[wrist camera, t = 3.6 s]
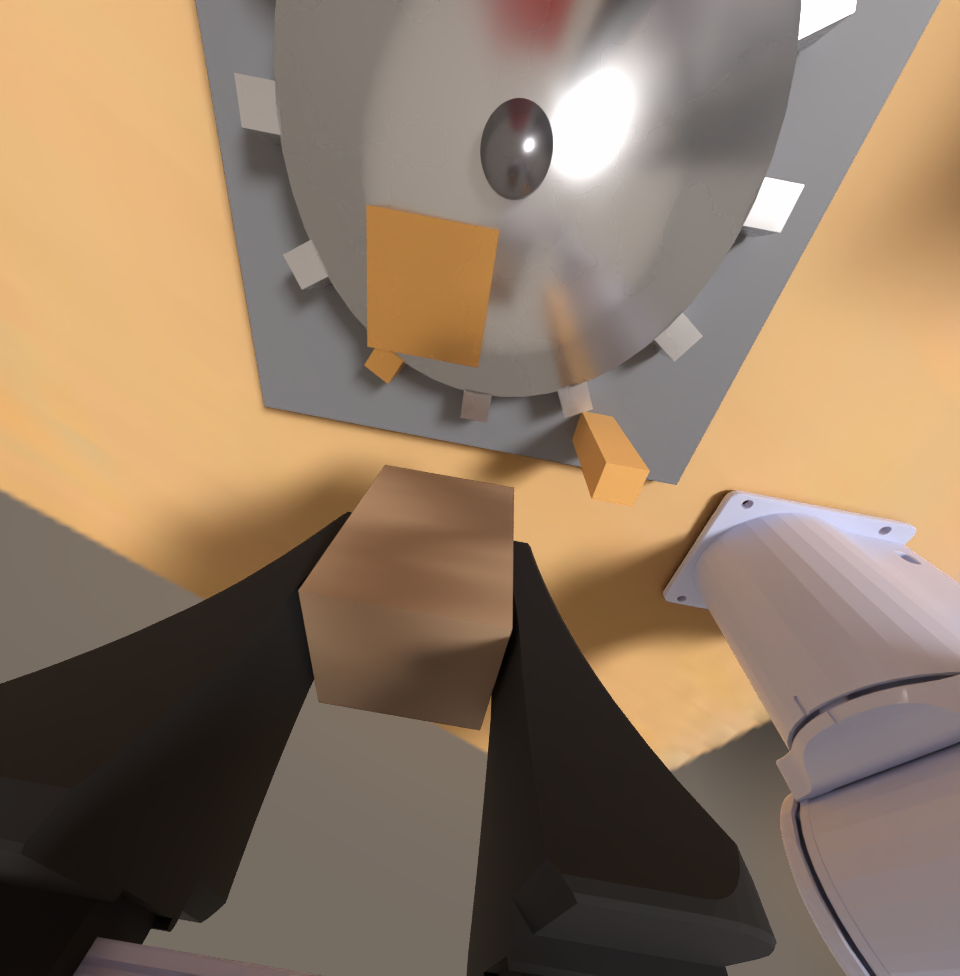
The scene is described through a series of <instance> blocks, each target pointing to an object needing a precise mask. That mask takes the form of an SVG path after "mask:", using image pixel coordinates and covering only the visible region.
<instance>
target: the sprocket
mask: <svg viewBox="0 0 960 976" xmlns="http://www.w3.org/2000/svg"><path fill="white" fill-rule="evenodd" d="M855 5H856V0H276V7H275V26H274V57H273V64H274V80H269V79H263V78H258V77H253V76H248V75H243V74H238V73H234V76H235V83H236V90H237V97H238V104H239V111H240V118H241V125H242V128H244V129H246V130H248V131H249V132H251V133H253V134H255V135H257V136H259V137H260V138H262V139H264V140H266V141H268V142H270V143H273V144H278V145H282V152H283V156H284V160H285V164H286V168H287V173H288V177H289V181H290V185H291V189H292V193H293V196H294V199H295V202H296V205H297V208H298V211H299V214H300V216H301V219H302V222H303V225H304V228H305V230H306V233H307V235H308V237H309V239H310V240H309V241H307V242H306V243H304V244H302V245H300V246H298V247H296V248H295V249H293V250H291V251H289V252H287V253H285V254H283V256H284V258H285V260H286V261H287V263H288V265H289V267H290V269H291V271H292V272H293V274H294V276H295V278H296V280H297V282H298V284H299V285H300V287H301V289H302V290H305V289H321V288H323V287H325V286H327V285H329V284H331V283H332V284H333V286H334V288H335V289H336V291H337V292H338V293H339V295H340V296H341V298H342V299H343V300H344V302H345V303H346V305H347V306H348V308H349V309H350V310H351V312H352V313H353V314H354V315H355V316H356V318H357V319H358V320H359V321H360V322H361V323H362V324H363V326H364V327H365V328H366V329H367V347H372V348H374V350H373V352H372V353H371V355H370V357H369V358H368V360H367V361H366V363H365V365H364V366H366V367H367V368H368V369H369V370H371V371H372V372H373V373H375V374H376V375H377V376H378V377H380V378H381V379H382V380H383V381H385V382H386V383H387V384H389V383H390V382H391V381H392V380H393V379H395V378H396V377H397V376H398V375H399V374H400V372H401V371H402V369H403V368H404V366H405V365H406V364H408V365H409V366H410V367H412V368H414V369H416V370H417V371H419V372H421V373H423V374H425V375H426V376H428V377H430V378H432V379H434V380H436V381H439V382H441V383H444V384H446V385H449V386H451V387H454V388H457V389H461V390H464V395H463V402H462V409H461V416H460V418H465V419H470V420H475V421H480V422H486V423H487V419H488V414H489V409H490V404H491V398H492V396H499V397H526V396H533V395H541V394H548V393H552V392H556V391H557V393H558V397H559V400H560V404H561V408H562V411H563V414H564V417H565V418H566V417H570V416H573V415H576V414H579V413H583V412H586V411H589V410H592V409H593V407H592V402H591V398H590V393H589V389H588V384H587V381H589V380H591V379H594V378H596V377H598V376H600V375H602V374H604V373H606V372H608V371H609V370H611V369H613V368H615V367H617V366H619V365H621V364H622V363H624V362H625V361H626V360H628V359H629V358H631V357H632V356H634V355H635V354H636V353H638V352H639V351H641V350H642V349H644V348H645V347H646V346H647V345H649V344H650V343H651V344H652V345H653V346H654V347H655V349H656V350H657V351H658V352H659V353H660V354H661V355H663V356H665V357H667V358H669V359H671V360H672V361H674V362H675V361H676V360H677V359H678V358H679V357H680V356H681V355H683V354H684V353H685V352H686V351H687V350H688V349H689V348H690V347H691V346H693V345H694V344H695V343H696V342H697V341H698V340H699V339H700V338H701V337H703V336H702V334H701V333H700V332H699V331H698V330H697V329H696V327H695V326H694V325H693V324H692V323H691V322H690V320H689V319H688V318H687V317H686V316H685V315H684V314H683V311H684V310H685V309H686V308H687V307H688V306H689V305H690V304H691V303H692V302H693V300H694V299H695V298H696V297H697V295H698V294H699V293H700V291H701V290H702V289H703V288H704V286H705V285H706V284H707V282H708V281H709V280H710V279H711V277H712V276H713V275H714V273H715V272H716V270H717V269H718V267H719V265H720V264H721V262H722V261H723V259H724V258H725V256H726V254H727V253H728V251H729V250H730V248H731V247H732V245H733V243H734V242H735V240H736V238H737V236H738V234H739V235H744V236H749V237H759V236H765V235H770V234H776V233H781V231H782V229H783V227H784V225H785V223H786V221H787V219H788V217H789V215H790V213H791V211H792V209H793V207H794V205H795V203H796V201H797V199H798V197H799V195H800V193H801V191H802V189H803V187H804V185H803V184H798V183H793V182H787V181H782V180H777V179H772V178H767V177H765V176H766V173H767V171H768V168H769V166H770V163H771V161H772V158H773V154H774V151H775V148H776V144H777V141H778V138H779V134H780V131H781V128H782V124H783V121H784V118H785V114H786V110H787V105H788V100H789V95H790V90H791V85H792V80H793V75H794V70H795V65H796V58H797V52H800V51H802V50H804V49H806V48H808V47H810V46H812V45H813V44H814V43H816V42H817V41H818V40H819V39H821V38H822V37H823V36H824V35H826V34H827V33H828V32H829V31H831V30H832V29H833V28H835V27H836V26H837V25H838V24H840V23H841V22H842V21H843V20H845V19H846V18H847V17H849V16H850V15H851V14H852V13H854V12H855Z"/></svg>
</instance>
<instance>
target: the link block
mask: <svg viewBox="0 0 960 976" xmlns="http://www.w3.org/2000/svg"><path fill="white" fill-rule="evenodd" d="M513 528H514V488H513V487H507V486H502V485H496V484H490V483H485V482H479V481H473V480H468V479H462V478H456V477H451V476H445V475H439V474H434V473H428V472H422V471H417V470H411V469H405V468H400V467H394V466H388V465H385V466H384V467H383V469H382V470H381V472H380V473H379V475H378V476H377V478H376V479H375V480H374V482H373V483H372V485H371V486H370V488H369V489H368V491H367V492H366V493H365V495H364V496H363V498H362V499H361V501H360V502H359V504H358V505H357V506H356V508H355V509H354V511H353V512H352V514H351V515H350V517H349V518H348V519H347V521H346V522H345V524H344V525H343V527H342V528H341V530H340V531H339V532H338V534H337V535H336V537H335V538H334V540H333V541H332V543H331V544H330V545H329V547H328V548H327V550H326V551H325V553H324V554H323V556H322V557H321V558H320V560H319V561H318V563H317V564H316V566H315V567H314V569H313V570H312V571H311V573H310V574H309V576H308V577H307V579H306V580H305V582H304V583H303V584H302V586H301V587H300V589H299V590H298V592H299V597H300V603H301V608H302V614H303V619H304V625H305V630H306V636H307V641H308V647H309V652H310V657H311V663H312V668H313V674H314V679H315V685H316V690H317V696H318V700H319V702H320V703H325V704H331V705H337V706H343V707H349V708H354V709H360V710H366V711H372V712H377V713H383V714H389V715H395V716H400V717H407V718H412V719H418V720H423V721H429V722H435V723H441V724H446V725H452V726H458V727H464V728H469V729H475V730H480V729H481V726H482V722H483V719H484V716H485V713H486V710H487V707H488V704H489V700H490V697H491V694H492V691H493V688H494V685H495V681H496V678H497V675H498V672H499V669H500V666H501V663H502V659H503V656H504V653H505V650H506V647H507V644H508V641H509V637H510V634H511V631H512V625H513Z"/></svg>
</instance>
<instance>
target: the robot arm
mask: <svg viewBox="0 0 960 976" xmlns="http://www.w3.org/2000/svg"><path fill="white" fill-rule="evenodd" d="M746 500H748V502H747V503H745V504H742V503H743V502H744V501H746ZM351 514H352V512H347V513H345V514H344V515H342V516H341V517H339V518H338V519H336V520H335V521H333V522H332V523H330V524H329V525H328V526H326V527H325V528H323V529H322V530H320V531H319V532H317V533H316V534H315V535H313V536H312V537H310V538H309V539H307V540H306V541H304V542H303V543H301V544H300V545H298V546H297V547H295V548H294V549H292V550H291V551H289V552H288V553H286V554H285V555H283V556H282V557H280V558H279V559H277V560H275V561H274V562H272V563H270V564H269V565H267V566H265V567H264V568H262V569H260V570H259V571H257V572H256V573H254V574H252V575H251V576H249V577H247V578H245V579H244V580H242V581H240V582H238V583H237V584H235V585H233V586H231V587H229V588H227V589H226V590H224V591H222V592H220V593H218V594H216V595H214V596H212V597H210V598H208V599H206V600H204V601H202V602H200V603H198V604H196V605H194V606H192V607H190V608H188V609H186V610H184V611H182V612H179V613H177V614H175V615H173V616H171V617H168V618H166V619H164V620H162V621H160V622H158V623H155V624H153V625H151V626H149V627H146V628H144V629H142V630H140V631H138V632H135V633H133V634H131V635H128V636H126V637H123V638H121V639H119V640H116V641H114V642H111V643H109V644H106V645H104V646H102V647H99V648H97V649H94V650H92V651H89V652H86V653H84V654H81V655H78V656H76V657H73V658H71V659H68V660H66V661H63V662H60V663H58V664H55V665H52V666H50V667H47V668H44V669H41V670H39V671H36V672H33V673H31V674H28V675H24V676H22V677H19V678H16V679H13V680H10V681H7V682H5V683H1V684H0V976H321V975H315V974H309V973H303V972H297V971H291V970H286V969H280V968H274V967H268V966H262V965H257V964H251V963H245V962H239V961H234V960H228V959H221V958H216V957H210V956H204V955H198V954H193V953H187V952H181V951H175V950H169V949H164V948H158V947H152V946H146V945H142V943H143V942H144V940H145V938H146V936H147V935H148V933H149V931H150V929H156V930H162V931H168V932H170V931H171V930H172V929H173V927H174V926H175V924H176V923H177V921H178V919H182V920H187V921H193V922H199V923H201V922H203V921H204V920H206V919H208V918H209V917H210V916H211V915H213V914H214V913H215V912H216V911H217V910H218V909H220V907H222V906H223V905H224V904H225V903H226V900H227V898H228V895H229V892H230V889H231V886H232V883H233V881H234V878H235V875H236V872H237V870H238V867H239V864H240V861H241V859H242V856H243V853H244V851H245V848H246V845H247V842H248V840H249V837H250V834H251V831H252V829H253V826H254V823H255V821H256V818H257V816H258V813H259V811H260V808H261V805H262V803H263V800H264V798H265V795H266V793H267V790H268V788H269V785H270V783H271V780H272V777H273V775H274V772H275V770H276V767H277V765H278V762H279V760H280V757H281V755H282V753H283V750H284V748H285V745H286V743H287V740H288V738H289V736H290V733H291V731H292V728H293V726H294V723H295V721H296V719H297V716H298V714H299V712H300V710H301V707H302V705H303V702H304V700H305V698H306V696H307V693H308V691H309V688H310V686H311V685H312V682H313V681H314V674H313V668H312V663H311V657H310V652H309V647H308V641H307V636H306V630H305V625H304V619H303V614H302V608H301V603H300V597H299V592H298V590H299V589H300V587H301V586H302V584H303V583H304V582H305V580H306V579H307V577H308V576H309V574H310V573H311V571H312V570H313V569H314V567H315V566H316V564H317V563H318V561H319V560H320V558H321V557H322V556H323V554H324V553H325V551H326V550H327V548H328V547H329V545H330V544H331V543H332V541H333V540H334V538H335V537H336V535H337V534H338V532H339V531H340V530H341V528H342V527H343V525H344V524H345V522H346V521H347V519H348V518H349V517H350V515H351ZM915 533H916V528H915V527H914V526H912V525H910V524H909V523H906V522H902V521H896V520H891V519H886V518H881V517H875V516H870V515H865V514H860V513H855V512H849V511H844V510H839V509H834V508H828V507H823V506H818V505H813V504H807V503H802V502H797V501H792V500H787V499H781V498H776V497H771V496H766V495H760V494H755V493H750V492H745V491H739V490H735V491H731V492H729V493H728V494H726V496H725V497H724V498H723V500H722V501H721V503H720V504H719V506H718V507H717V509H716V510H715V512H714V514H713V515H712V517H711V518H710V520H709V521H708V523H707V524H706V526H705V527H704V529H703V531H702V532H701V534H700V535H699V537H698V538H697V540H696V541H695V543H694V545H693V546H692V548H691V549H690V551H689V552H688V554H687V555H686V557H685V558H684V560H683V562H682V563H681V565H680V566H679V568H678V569H677V571H676V572H675V574H674V576H673V577H672V579H671V580H670V582H669V583H668V585H667V586H666V588H665V590H664V591H663V596H664V598H665V600H666V601H668V602H672V603H677V604H683V605H688V606H693V607H698V608H704V609H708V610H709V611H710V613H711V615H712V617H713V618H714V620H715V622H716V624H717V625H718V627H719V629H720V631H721V632H722V634H723V636H724V637H725V639H726V641H727V643H728V644H729V646H730V648H731V650H732V651H733V653H734V655H735V657H736V658H737V660H738V662H739V664H740V665H741V667H742V669H743V671H744V672H745V674H746V676H747V678H748V679H749V681H750V683H751V685H752V686H753V688H754V690H755V692H756V693H757V695H758V697H759V699H760V700H761V702H762V704H763V706H764V707H765V709H766V711H767V713H768V714H769V716H770V718H771V720H772V721H773V723H774V725H775V727H776V728H777V730H778V732H779V734H780V735H781V737H782V739H783V740H784V742H785V744H786V746H787V747H788V749H789V753H788V754H786V755H785V756H784V757H782V758H781V759H779V760H777V762H776V764H777V766H778V768H779V770H780V771H781V773H782V775H783V777H784V779H785V781H786V783H787V784H788V786H789V788H790V790H791V792H792V793H791V794H789V795H788V796H787V797H786V798H785V800H784V802H783V804H782V806H781V813H780V824H781V834H782V838H783V843H784V847H785V852H786V855H787V858H788V861H789V864H790V868H791V871H792V874H793V877H794V879H795V882H796V885H797V887H798V890H799V892H800V894H801V897H802V899H803V901H804V903H805V905H806V908H807V910H808V912H809V914H810V916H811V918H812V920H813V921H814V923H815V925H816V927H817V929H818V930H819V932H820V934H821V936H822V938H823V939H824V941H825V943H826V944H827V946H828V948H829V949H830V951H831V953H832V954H833V956H834V957H835V959H836V960H837V962H838V963H839V965H840V966H841V968H842V969H843V970H844V972H845V974H846V975H847V976H960V583H958V582H957V581H955V580H954V579H952V578H951V577H950V576H948V575H947V574H945V573H944V572H942V571H941V570H939V569H938V568H937V567H935V566H934V565H932V564H931V563H929V562H928V561H927V560H925V559H924V558H922V557H921V556H919V555H918V554H916V553H915V552H914V551H912V550H911V549H909V548H908V547H906V546H905V545H904V544H906V543H907V542H908V541H909V540H910V539H911V538H912V537H913V536H914V535H915ZM679 596H680V597H679ZM775 945H776V939H775V937H774V934H773V932H772V929H771V927H770V924H769V921H768V919H767V916H766V914H765V911H764V909H763V906H762V903H761V900H760V898H759V895H758V892H757V890H756V888H755V885H754V882H753V880H752V878H751V876H750V873H749V871H748V869H747V867H746V865H745V863H744V861H743V858H742V856H741V854H740V851H739V849H738V847H737V845H736V844H735V842H734V841H733V840H732V839H731V838H730V837H729V836H728V835H727V834H726V833H725V832H724V831H723V829H722V828H721V827H720V826H719V825H718V824H717V823H716V822H715V821H714V820H713V818H712V817H711V816H710V815H709V814H708V813H707V812H706V811H705V810H704V809H703V808H702V807H701V805H700V804H699V803H698V802H697V801H696V800H695V799H694V798H693V797H692V796H691V794H690V793H689V792H688V791H687V790H686V789H685V788H684V787H683V786H682V785H681V784H680V782H679V781H678V780H677V779H676V778H675V777H674V775H673V774H672V773H671V772H670V771H669V769H668V768H667V767H666V766H665V765H664V763H663V762H662V761H661V760H660V759H659V758H658V756H657V755H656V754H655V753H654V752H653V750H652V749H651V748H650V747H649V746H648V744H647V743H646V742H645V740H644V739H643V738H642V737H641V735H640V734H639V733H638V731H637V730H636V729H635V727H634V726H633V725H632V724H631V722H630V721H629V720H628V718H627V717H626V716H625V714H624V713H623V712H622V711H621V709H620V708H619V707H618V705H617V704H616V703H615V701H614V700H613V699H612V697H611V696H610V694H609V693H608V692H607V690H606V689H605V687H604V686H603V684H602V683H601V682H600V680H599V679H598V677H597V676H596V674H595V673H594V671H593V670H592V668H591V667H590V665H589V664H588V662H587V660H586V659H585V657H584V656H583V654H582V653H581V651H580V649H579V648H578V646H577V644H576V643H575V641H574V639H573V637H572V636H571V634H570V632H569V630H568V629H567V627H566V625H565V623H564V621H563V620H562V618H561V616H560V614H559V612H558V610H557V608H556V606H555V604H554V602H553V600H552V598H551V596H550V594H549V592H548V589H547V587H546V585H545V583H544V581H543V578H542V576H541V574H540V571H539V569H538V566H537V564H536V561H535V559H534V556H533V553H532V550H531V547H530V546H529V544H528V543H523V542H517V541H513V625H512V631H511V634H510V637H509V641H508V644H507V647H506V650H505V653H504V656H503V659H502V663H501V666H500V669H499V672H498V675H497V678H496V681H495V685H494V688H493V691H492V694H491V722H490V735H489V747H488V760H487V771H486V782H485V793H484V805H483V815H482V825H481V836H480V846H479V856H478V867H477V876H476V886H475V895H474V905H473V915H472V925H471V933H470V943H469V952H468V964H467V976H728V974H727V971H726V967H725V966H729V965H733V964H738V963H742V962H746V961H751V960H755V959H760V958H763V957H766V956H769V955H770V954H771V953H772V952H773V951H774V948H775Z"/></svg>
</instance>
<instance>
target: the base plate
mask: <svg viewBox="0 0 960 976" xmlns="http://www.w3.org/2000/svg"><path fill="white" fill-rule="evenodd" d="M195 1H196V7H197V13H198V19H199V25H200V31H201V37H202V42H203V48H204V54H205V60H206V66H207V72H208V78H209V84H210V89H211V95H212V101H213V107H214V113H215V119H216V125H217V131H218V137H219V142H220V148H221V154H222V160H223V166H224V172H225V178H226V184H227V190H228V195H229V201H230V207H231V213H232V219H233V225H234V231H235V237H236V243H237V248H238V254H239V260H240V266H241V272H242V278H243V284H244V290H245V296H246V301H247V307H248V313H249V319H250V325H251V331H252V337H253V343H254V348H255V354H256V360H257V366H258V372H259V378H260V384H261V390H262V396H263V401H264V406H265V407H271V408H276V409H281V410H286V411H292V412H297V413H302V414H307V415H312V416H318V417H323V418H328V419H333V420H339V421H344V422H349V423H354V424H360V425H365V426H370V427H375V428H381V429H386V430H391V431H396V432H401V433H407V434H412V435H417V436H422V437H428V438H433V439H438V440H443V441H449V442H454V443H459V444H464V445H470V446H475V447H480V448H485V449H490V450H496V451H501V452H506V453H511V454H517V455H522V456H527V457H532V458H538V459H543V460H548V461H553V462H559V463H564V464H569V465H574V466H579V467H581V468H582V471H583V474H584V477H585V480H586V483H587V486H588V489H589V492H590V495H591V498H592V499H594V500H600V501H605V502H610V503H615V504H621V505H626V506H631V507H633V505H634V503H635V501H636V499H637V497H638V494H639V492H640V490H641V488H642V486H643V484H644V482H645V480H646V479H648V480H653V481H658V482H663V483H668V484H674V485H677V483H678V481H679V479H680V477H681V476H682V474H683V472H684V470H685V468H686V466H687V465H688V463H689V461H690V459H691V457H692V455H693V454H694V452H695V450H696V448H697V446H698V444H699V443H700V441H701V439H702V437H703V435H704V433H705V432H706V430H707V428H708V426H709V424H710V422H711V421H712V419H713V417H714V415H715V413H716V411H717V410H718V408H719V406H720V404H721V402H722V400H723V399H724V397H725V395H726V393H727V391H728V389H729V388H730V386H731V384H732V382H733V380H734V378H735V377H736V375H737V373H738V371H739V369H740V367H741V366H742V364H743V362H744V360H745V358H746V356H747V355H748V353H749V351H750V349H751V347H752V345H753V344H754V342H755V340H756V338H757V336H758V334H759V333H760V331H761V329H762V327H763V325H764V323H765V322H766V320H767V318H768V316H769V314H770V312H771V310H772V309H773V307H774V305H775V303H776V301H777V299H778V298H779V296H780V294H781V292H782V290H783V288H784V287H785V285H786V283H787V281H788V279H789V277H790V276H791V274H792V272H793V270H794V268H795V266H796V265H797V263H798V261H799V259H800V257H801V255H802V254H803V252H804V250H805V248H806V246H807V244H808V243H809V241H810V239H811V237H812V235H813V233H814V232H815V230H816V228H817V226H818V224H819V222H820V221H821V219H822V217H823V215H824V213H825V211H826V210H827V208H828V206H829V204H830V202H831V200H832V199H833V197H834V195H835V193H836V191H837V189H838V188H839V186H840V184H841V182H842V180H843V178H844V177H845V175H846V173H847V171H848V169H849V167H850V166H851V164H852V162H853V160H854V158H855V156H856V155H857V153H858V151H859V149H860V147H861V145H862V144H863V142H864V140H865V138H866V136H867V134H868V133H869V131H870V129H871V127H872V125H873V123H874V122H875V120H876V118H877V116H878V114H879V112H880V111H881V109H882V107H883V105H884V103H885V101H886V100H887V98H888V96H889V94H890V92H891V90H892V89H893V87H894V85H895V83H896V81H897V79H898V78H899V76H900V74H901V72H902V70H903V68H904V67H905V65H906V63H907V61H908V59H909V57H910V56H911V54H912V52H913V50H914V48H915V46H916V45H917V43H918V41H919V39H920V37H921V35H922V34H923V32H924V30H925V28H926V26H927V24H928V23H929V21H930V19H931V17H932V15H933V13H934V12H935V10H936V8H937V6H938V4H939V2H940V1H941V0H856V5H855V12H854V13H852V14H851V15H850V16H849V17H847V18H846V19H845V20H843V21H842V22H841V23H840V24H838V25H837V26H836V27H835V28H833V29H832V30H831V31H829V32H828V33H827V34H826V35H824V36H823V37H822V38H821V39H819V40H818V41H817V42H816V43H814V44H813V45H812V46H810V47H808V48H806V49H804V50H802V51H800V52H797V58H796V65H795V70H794V75H793V80H792V85H791V90H790V95H789V100H788V105H787V110H786V114H785V118H784V121H783V124H782V128H781V131H780V134H779V138H778V141H777V144H776V148H775V151H774V154H773V158H772V161H771V163H770V166H769V168H768V171H767V173H766V176H765V177H767V178H772V179H777V180H782V181H787V182H793V183H798V184H803V185H804V187H803V189H802V191H801V193H800V195H799V197H798V199H797V201H796V203H795V205H794V207H793V209H792V211H791V213H790V215H789V217H788V219H787V221H786V223H785V225H784V227H783V229H782V231H781V233H776V234H770V235H765V236H759V237H749V236H744V235H739V234H738V236H737V238H736V240H735V242H734V243H733V245H732V247H731V248H730V250H729V251H728V253H727V254H726V256H725V258H724V259H723V261H722V262H721V264H720V265H719V267H718V269H717V270H716V272H715V273H714V275H713V276H712V277H711V279H710V280H709V281H708V282H707V284H706V285H705V286H704V288H703V289H702V290H701V291H700V293H699V294H698V295H697V297H696V298H695V299H694V300H693V302H692V303H691V304H690V305H689V306H688V307H687V308H686V309H685V310H684V311H683V314H684V315H685V316H686V317H687V318H688V319H689V320H690V322H691V323H692V324H693V325H694V326H695V327H696V329H697V330H698V331H699V332H700V333H701V334H702V336H703V337H701V338H700V339H699V340H698V341H697V342H696V343H695V344H694V345H693V346H691V347H690V348H689V349H688V350H687V351H686V352H685V353H684V354H683V355H681V356H680V357H679V358H678V359H677V360H676V361H675V362H674V361H672V360H671V359H669V358H667V357H665V356H663V355H661V354H660V353H659V352H658V351H657V350H656V349H655V347H654V346H653V345H652V344H651V343H650V344H649V345H647V346H646V347H645V348H644V349H642V350H641V351H639V352H638V353H636V354H635V355H634V356H632V357H631V358H629V359H628V360H626V361H625V362H624V363H622V364H621V365H619V366H617V367H615V368H613V369H611V370H609V371H608V372H606V373H604V374H602V375H600V376H598V377H596V378H594V379H591V380H589V381H587V384H588V389H589V393H590V398H591V402H592V407H593V409H592V410H589V411H586V412H583V413H579V414H576V415H573V416H570V417H566V418H565V417H564V414H563V411H562V408H561V404H560V400H559V397H558V393H557V391H556V392H552V393H548V394H541V395H533V396H526V397H499V396H492V398H491V404H490V409H489V414H488V419H487V423H486V422H480V421H475V420H470V419H465V418H460V416H461V409H462V402H463V395H464V390H461V389H457V388H454V387H451V386H449V385H446V384H444V383H441V382H439V381H436V380H434V379H432V378H430V377H428V376H426V375H425V374H423V373H421V372H419V371H417V370H416V369H414V368H412V367H410V366H409V365H408V364H406V365H405V366H404V368H403V369H402V371H401V372H400V374H399V375H398V376H397V377H396V378H395V379H393V380H392V381H391V382H390V383H389V384H387V383H386V382H385V381H383V380H382V379H381V378H380V377H378V376H377V375H376V374H375V373H373V372H372V371H371V370H369V369H368V368H367V367H366V366H364V365H365V363H366V361H367V360H368V358H369V357H370V355H371V353H372V352H373V350H374V348H372V347H367V329H366V328H365V327H364V326H363V324H362V323H361V322H360V321H359V320H358V319H357V318H356V316H355V315H354V314H353V313H352V312H351V310H350V309H349V308H348V306H347V305H346V303H345V302H344V300H343V299H342V298H341V296H340V295H339V293H338V292H337V291H336V289H335V288H334V286H333V284H332V283H331V284H329V285H327V286H325V287H323V288H321V289H305V290H302V289H301V287H300V285H299V284H298V282H297V280H296V278H295V276H294V274H293V272H292V271H291V269H290V267H289V265H288V263H287V261H286V260H285V258H284V256H283V254H285V253H287V252H289V251H291V250H293V249H295V248H296V247H298V246H300V245H302V244H304V243H306V242H307V241H309V240H310V239H309V237H308V235H307V233H306V230H305V228H304V225H303V222H302V219H301V216H300V214H299V211H298V208H297V205H296V202H295V199H294V196H293V193H292V189H291V185H290V181H289V177H288V173H287V168H286V164H285V160H284V156H283V152H282V145H278V144H273V143H270V142H268V141H266V140H264V139H262V138H260V137H259V136H257V135H255V134H253V133H251V132H249V131H248V130H246V129H244V128H242V125H241V118H240V111H239V104H238V97H237V90H236V83H235V76H234V73H238V74H243V75H248V76H253V77H258V78H263V79H269V80H274V64H273V57H274V26H275V7H276V0H195Z"/></svg>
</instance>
